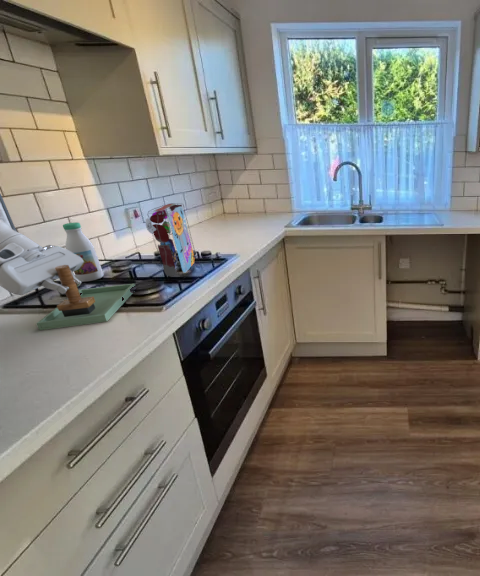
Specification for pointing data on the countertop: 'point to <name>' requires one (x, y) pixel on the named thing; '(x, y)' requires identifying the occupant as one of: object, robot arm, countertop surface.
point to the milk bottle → (83, 253)
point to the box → (167, 244)
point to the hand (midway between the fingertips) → (72, 288)
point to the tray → (105, 307)
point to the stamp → (73, 295)
